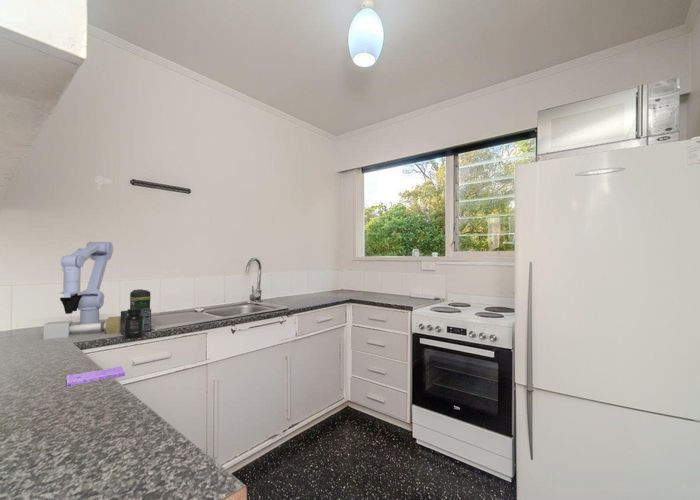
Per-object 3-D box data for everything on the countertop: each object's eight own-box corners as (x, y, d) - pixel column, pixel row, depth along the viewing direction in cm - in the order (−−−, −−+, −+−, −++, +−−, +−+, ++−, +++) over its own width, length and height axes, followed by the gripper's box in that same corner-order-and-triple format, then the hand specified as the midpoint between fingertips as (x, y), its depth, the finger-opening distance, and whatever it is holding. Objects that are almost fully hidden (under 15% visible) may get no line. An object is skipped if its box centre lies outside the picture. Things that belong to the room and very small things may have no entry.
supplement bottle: (147, 335, 141) (147, 307, 142) (135, 338, 135) (135, 310, 135) (132, 334, 142) (133, 307, 142) (120, 338, 135) (120, 310, 136)
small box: (145, 329, 152) (146, 307, 153) (151, 331, 148) (152, 308, 149) (119, 334, 144) (120, 310, 144) (125, 336, 140) (125, 311, 140)
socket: (105, 334, 143) (106, 319, 144) (108, 331, 150) (108, 317, 150) (119, 332, 146) (119, 318, 146) (121, 329, 152) (121, 316, 152)
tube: (61, 335, 137) (61, 325, 137) (63, 333, 141) (64, 324, 141) (112, 330, 146) (113, 321, 146) (114, 329, 150) (114, 320, 150)
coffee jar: (152, 327, 158) (152, 289, 159) (133, 329, 152) (134, 290, 153) (145, 324, 165) (146, 288, 165) (127, 327, 159) (127, 289, 159)
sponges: (66, 382, 88) (66, 375, 88) (122, 371, 97) (122, 365, 97) (66, 389, 83) (66, 382, 83) (125, 377, 91) (125, 371, 91)
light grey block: (43, 339, 133) (43, 324, 134) (48, 336, 139) (48, 322, 139) (68, 337, 137) (68, 322, 138) (72, 334, 143) (72, 320, 143)
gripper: (64, 281, 148) (64, 310, 147) (55, 283, 135) (54, 315, 135) (84, 280, 151) (83, 309, 151) (76, 282, 138) (76, 314, 138)
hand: (71, 312), depth 143 cm, fingers open, 7 cm apart
